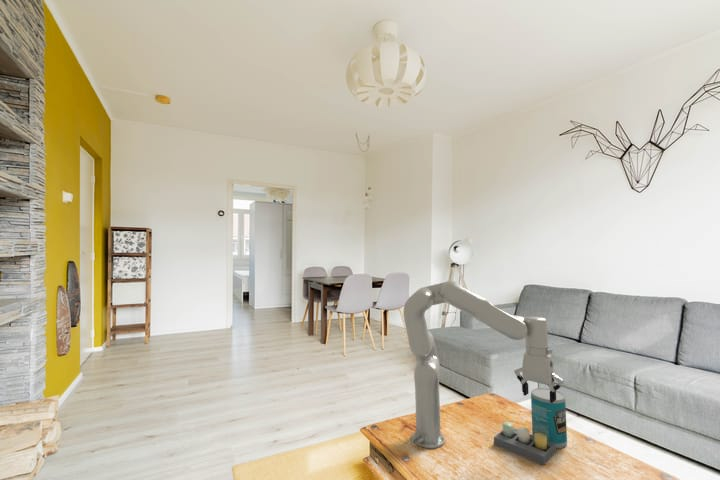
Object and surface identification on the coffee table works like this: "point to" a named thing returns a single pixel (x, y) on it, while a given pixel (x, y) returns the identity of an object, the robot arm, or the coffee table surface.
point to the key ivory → (523, 435)
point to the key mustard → (540, 441)
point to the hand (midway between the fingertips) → (538, 397)
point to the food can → (549, 416)
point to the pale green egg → (508, 429)
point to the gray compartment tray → (525, 447)
